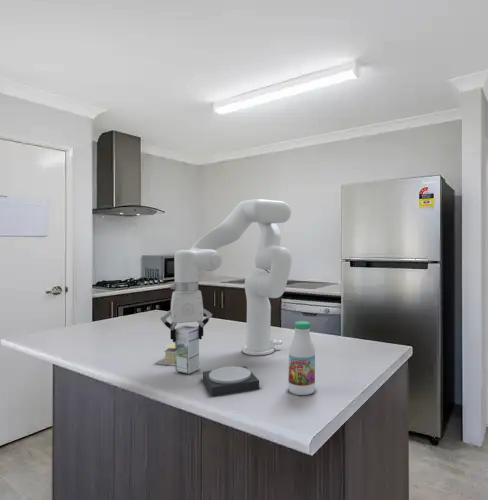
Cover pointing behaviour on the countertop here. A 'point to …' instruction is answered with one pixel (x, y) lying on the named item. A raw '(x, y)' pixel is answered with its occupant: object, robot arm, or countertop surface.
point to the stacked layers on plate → (169, 355)
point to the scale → (230, 380)
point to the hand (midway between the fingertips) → (187, 339)
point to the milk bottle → (302, 361)
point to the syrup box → (187, 349)
